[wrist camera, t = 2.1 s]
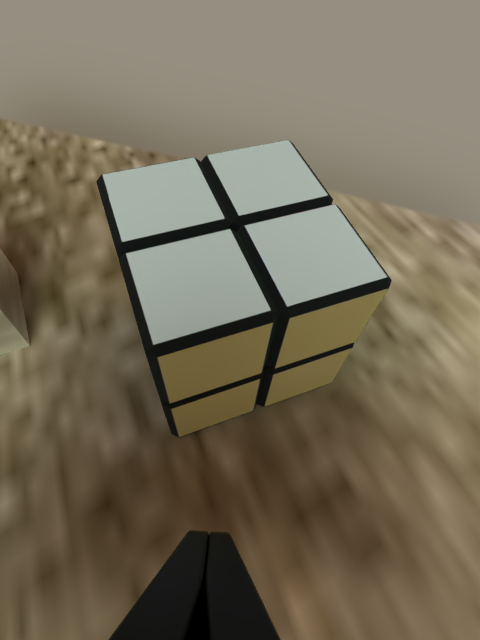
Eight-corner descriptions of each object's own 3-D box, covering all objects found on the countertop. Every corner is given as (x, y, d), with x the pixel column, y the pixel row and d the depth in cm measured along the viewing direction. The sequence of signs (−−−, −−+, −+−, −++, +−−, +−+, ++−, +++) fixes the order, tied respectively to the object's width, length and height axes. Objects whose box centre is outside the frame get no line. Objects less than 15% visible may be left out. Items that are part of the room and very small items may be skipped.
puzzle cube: (131, 299, 26) (92, 171, 18) (269, 262, 29) (291, 134, 20) (173, 441, 22) (146, 357, 13) (335, 383, 24) (399, 280, 15)
